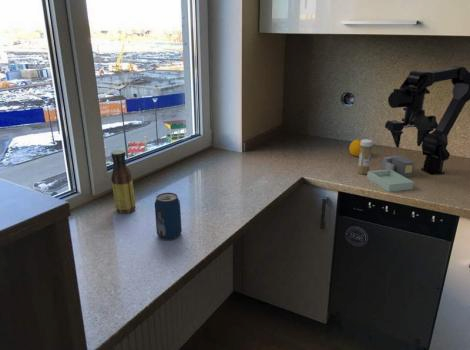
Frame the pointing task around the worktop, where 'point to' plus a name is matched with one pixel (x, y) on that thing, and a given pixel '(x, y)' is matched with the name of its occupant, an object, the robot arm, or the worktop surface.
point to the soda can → (168, 216)
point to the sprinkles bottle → (365, 156)
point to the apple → (355, 147)
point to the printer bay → (388, 163)
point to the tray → (390, 180)
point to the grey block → (403, 166)
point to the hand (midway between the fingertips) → (407, 146)
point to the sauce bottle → (122, 183)
